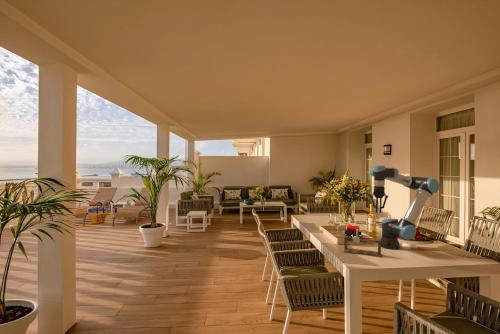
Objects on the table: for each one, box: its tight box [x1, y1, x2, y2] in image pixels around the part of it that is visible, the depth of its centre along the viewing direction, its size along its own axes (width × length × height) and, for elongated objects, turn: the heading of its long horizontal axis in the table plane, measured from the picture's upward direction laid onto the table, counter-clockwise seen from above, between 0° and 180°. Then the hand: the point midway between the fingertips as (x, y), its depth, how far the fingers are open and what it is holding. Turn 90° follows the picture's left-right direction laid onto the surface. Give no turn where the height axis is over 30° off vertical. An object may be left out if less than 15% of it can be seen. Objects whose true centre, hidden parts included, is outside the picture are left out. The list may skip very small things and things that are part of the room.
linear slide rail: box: [343, 235, 382, 258], centre depth 226 cm, size 26×8×12 cm, turn 67°
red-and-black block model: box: [344, 224, 363, 238], centre depth 270 cm, size 15×8×25 cm
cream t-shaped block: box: [353, 229, 361, 244], centre depth 227 cm, size 4×4×10 cm
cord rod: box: [347, 236, 378, 244], centre depth 226 cm, size 24×3×3 cm, turn 67°
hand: (378, 217), depth 222 cm, fingers closed
